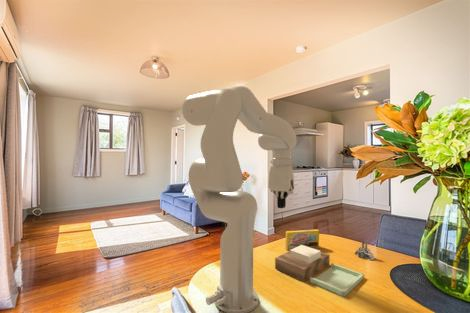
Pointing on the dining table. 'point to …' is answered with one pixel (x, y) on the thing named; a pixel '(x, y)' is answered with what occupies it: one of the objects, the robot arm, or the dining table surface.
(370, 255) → the house of cards
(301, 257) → the tile
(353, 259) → the dining table surface
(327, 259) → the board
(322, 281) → the tray
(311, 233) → the candy box
